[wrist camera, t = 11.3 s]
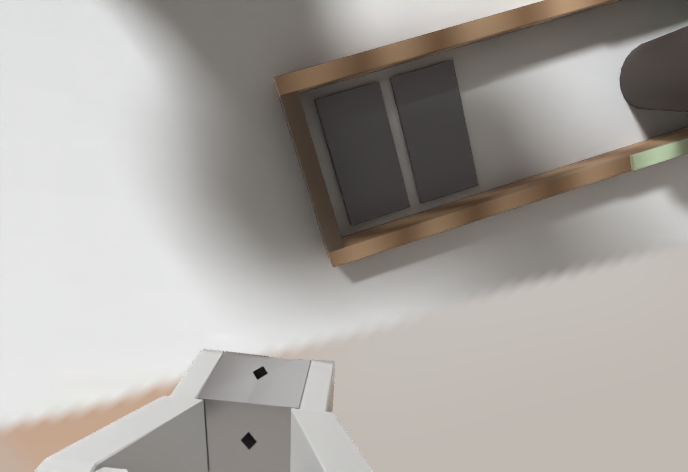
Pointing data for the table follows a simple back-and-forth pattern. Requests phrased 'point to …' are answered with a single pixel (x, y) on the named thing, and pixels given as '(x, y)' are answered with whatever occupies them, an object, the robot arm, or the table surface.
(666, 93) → the coffee cup
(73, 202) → the table surface
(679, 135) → the trap box
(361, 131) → the mats
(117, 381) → the table surface
